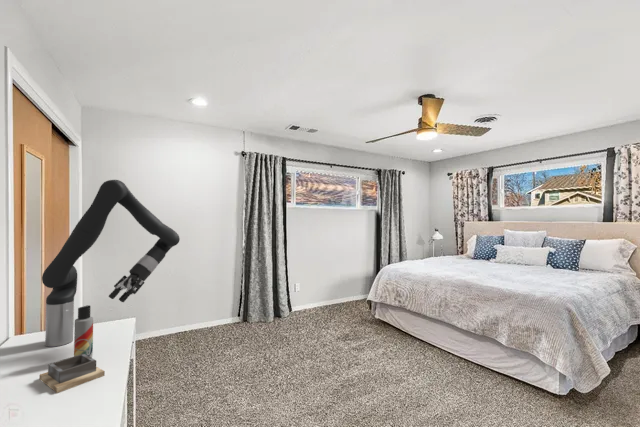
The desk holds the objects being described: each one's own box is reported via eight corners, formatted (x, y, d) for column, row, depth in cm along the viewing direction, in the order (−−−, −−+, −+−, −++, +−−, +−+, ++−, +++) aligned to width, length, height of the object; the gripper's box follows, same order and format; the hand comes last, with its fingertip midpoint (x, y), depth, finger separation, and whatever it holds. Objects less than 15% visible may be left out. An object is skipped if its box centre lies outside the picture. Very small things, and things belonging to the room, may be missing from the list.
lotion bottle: (82, 363, 117) (83, 308, 117) (69, 361, 118) (70, 307, 119) (96, 356, 123) (97, 304, 123) (84, 355, 124) (85, 303, 124)
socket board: (39, 379, 105) (39, 363, 105) (85, 364, 116) (85, 350, 116) (57, 393, 97) (57, 376, 97) (104, 375, 108) (104, 360, 108)
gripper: (129, 261, 141) (100, 291, 132) (147, 263, 134) (117, 296, 124) (141, 271, 146) (113, 301, 136) (159, 274, 138) (131, 307, 128)
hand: (115, 299), depth 130 cm, fingers open, 8 cm apart
